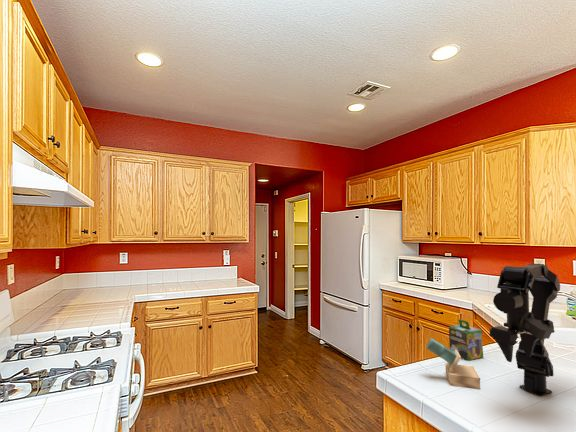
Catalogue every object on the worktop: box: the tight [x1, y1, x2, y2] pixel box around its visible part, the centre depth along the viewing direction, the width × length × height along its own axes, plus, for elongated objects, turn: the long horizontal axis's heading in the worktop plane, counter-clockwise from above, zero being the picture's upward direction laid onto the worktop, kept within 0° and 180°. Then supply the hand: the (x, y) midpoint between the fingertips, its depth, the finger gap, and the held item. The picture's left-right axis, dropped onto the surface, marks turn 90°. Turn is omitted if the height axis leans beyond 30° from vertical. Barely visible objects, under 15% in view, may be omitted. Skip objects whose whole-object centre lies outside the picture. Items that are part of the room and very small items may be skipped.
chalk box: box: [448, 318, 484, 361], centre depth 137 cm, size 9×9×15 cm
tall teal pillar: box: [426, 337, 462, 372], centre depth 116 cm, size 6×8×10 cm
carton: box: [445, 362, 481, 390], centre depth 114 cm, size 9×10×4 cm
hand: (519, 359), depth 100 cm, fingers open, 9 cm apart
